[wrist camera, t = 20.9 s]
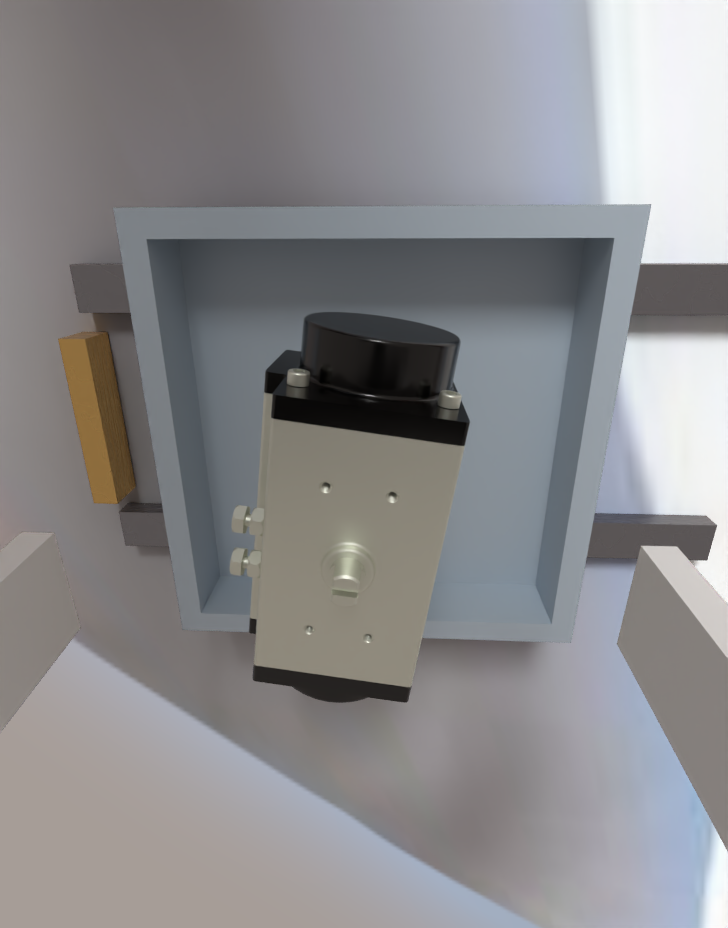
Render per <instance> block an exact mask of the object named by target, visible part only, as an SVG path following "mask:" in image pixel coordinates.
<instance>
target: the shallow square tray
mask: <svg viewBox="0 0 728 928" xmlns="http://www.w3.org/2000/svg"><path fill="white" fill-rule="evenodd" d="M113 209H114V215H115V221H116V228H117V234H118V240H119V246H120V252H121V258H122V264H123V270H124V276H125V282H126V288H127V294H128V301H129V307H130V313H131V319H132V325H133V331H134V337H135V343H136V349H137V355H138V361H139V368H140V374H141V380H142V386H143V392H144V398H145V404H146V410H147V416H148V422H149V428H150V434H151V441H152V447H153V453H154V459H155V465H156V471H157V477H158V483H159V489H160V495H161V501H162V507H163V514H164V520H165V526H166V532H167V538H168V544H169V550H170V556H171V562H172V568H173V574H174V580H175V587H176V593H177V599H178V605H179V611H180V617H181V623H182V629H183V630H197V631H227V632H249V621H250V605H251V589H252V577H248V576H247V568H245V571H244V574H243V575H241V576H239V575H233V574H231V573H230V560H231V556H232V552H233V550H234V548H235V547H239V548H247V549H248V555H247V556H249V555H250V553H251V551H252V550H254V542H255V535H251V534H250V533H249V527H247V531H246V533H244V534H243V533H236V532H232V528H231V524H232V517H233V512H234V509H235V507H236V506H237V505H242V506H248V507H250V514H252V511H253V509H254V508H257V495H258V479H259V463H260V447H261V432H262V416H263V400H264V384H265V370H266V369H267V368H268V367H269V366H270V365H271V364H272V363H273V362H274V361H275V360H276V359H277V358H278V357H279V356H280V355H281V354H282V353H283V352H284V351H285V350H294V351H301V344H302V333H303V322H304V318H305V317H306V316H307V315H309V314H312V313H318V312H349V313H361V314H371V315H379V316H386V317H392V318H398V319H404V320H409V321H414V322H418V323H423V324H427V325H431V326H434V327H438V328H441V329H444V330H446V331H449V332H451V333H453V334H455V335H457V336H458V337H459V338H460V341H461V345H460V350H459V355H458V359H457V364H456V369H455V374H454V379H453V382H454V384H455V386H456V389H457V391H458V393H460V394H461V395H462V398H461V401H462V403H463V406H464V408H465V410H466V413H467V415H468V418H469V420H470V425H469V430H468V434H467V439H466V443H465V448H464V452H463V457H462V461H461V466H460V470H459V475H458V479H457V484H456V488H455V493H454V497H453V502H452V506H451V511H450V515H449V520H448V524H447V529H446V533H445V538H444V542H443V547H442V551H441V556H440V560H439V565H438V569H437V574H436V578H435V583H434V587H433V592H432V596H431V600H430V605H429V609H428V614H427V618H426V623H425V627H424V632H423V636H422V638H438V639H468V640H498V641H528V642H558V643H571V640H572V635H573V630H574V624H575V619H576V613H577V608H578V602H579V597H580V591H581V586H582V580H583V575H584V569H585V564H586V558H587V553H588V548H589V542H590V537H591V531H592V526H593V520H594V515H595V509H596V504H597V498H598V493H599V487H600V482H601V476H602V471H603V466H604V460H605V455H606V449H607V444H608V438H609V433H610V427H611V422H612V416H613V411H614V405H615V400H616V394H617V389H618V384H619V378H620V373H621V367H622V362H623V356H624V351H625V345H626V340H627V334H628V329H629V323H630V318H631V312H632V307H633V302H634V296H635V291H636V285H637V280H638V274H639V269H640V263H641V258H642V252H643V247H644V241H645V236H646V230H647V225H648V220H649V214H650V209H651V204H642V205H472V206H302V207H132V208H113Z"/></svg>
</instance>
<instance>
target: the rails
mask: <svg viewBox="0 0 728 928" xmlns="http://www.w3.org/2000/svg"><path fill="white" fill-rule="evenodd" d="M70 269H71V274H72V279H73V284H74V289H75V294H76V299H77V304H78V309H79V313H130V307H129V301H128V294H127V288H126V282H125V276H124V270H123V264H74V265H70ZM631 315H728V263H658V264H640V269H639V274H638V280H637V285H636V291H635V296H634V302H633V307H632V312H631ZM58 340H59V345H60V350H61V354H62V359H63V363H64V368H65V372H66V377H67V382H68V386H69V391H70V395H71V400H72V405H73V409H74V414H75V418H76V423H77V427H78V432H79V437H80V441H81V446H82V450H83V455H84V459H85V464H86V469H87V473H88V478H89V482H90V487H91V491H92V496H93V501H94V503H107V504H118V503H119V502H120V501H121V500H122V499H123V498H124V497H125V496H126V495H127V494H129V493H130V492H131V491H132V490H133V489H134V488H135V487H136V485H135V479H134V474H133V468H132V463H131V457H130V452H129V447H128V441H127V436H126V430H125V425H124V419H123V414H122V408H121V403H120V397H119V392H118V386H117V381H116V375H115V370H114V364H113V359H112V353H111V348H110V343H109V337H108V332H81V333H77V334H74V335H70V336H67V337H64V338H60V339H58ZM119 514H120V519H121V524H122V529H123V534H124V539H125V544H126V546H165V547H169V544H168V538H167V532H166V526H165V520H164V514H163V507H162V504H136V503H128V504H127V505H126V506H125V507H124V508H123V509H122V510H121V511H120V512H119ZM716 527H717V525H716V524H715V523H714V522H712V521H711V520H710V519H709V518H708V517H707V516H690V515H644V514H597V513H595V515H594V520H593V526H592V531H591V537H590V542H589V548H588V553H587V557H595V558H634V559H638V556H639V552H640V548H641V546H676V547H678V548H679V549H680V551H681V552H682V553H683V554H684V555H685V556H686V557H687V558H688V560H707V559H708V555H709V552H710V548H711V545H712V541H713V538H714V534H715V531H716Z"/></svg>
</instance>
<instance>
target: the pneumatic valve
mask: <svg viewBox="0 0 728 928" xmlns="http://www.w3.org/2000/svg"><path fill="white" fill-rule="evenodd" d="M460 345H461V341H460V338H459V337H458V336H457V335H455V334H453V333H451V332H449V331H446V330H444V329H441V328H438V327H434V326H431V325H427V324H423V323H418V322H414V321H409V320H404V319H398V318H392V317H386V316H379V315H371V314H361V313H349V312H318V313H312V314H309V315H307V316H306V317H305V318H304V322H303V333H302V344H301V351H294V350H285V351H284V352H283V353H282V354H281V355H280V356H279V357H278V358H277V359H276V360H275V361H274V362H273V363H272V364H271V365H270V366H269V367H268V368H267V369H266V370H265V384H264V400H263V416H262V432H261V447H260V463H259V479H258V495H257V508H254V509H253V511H252V514H250V507H248V506H242V505H237V506H236V507H235V509H234V512H233V517H232V524H231V528H232V532H236V533H243V534H244V533H246V531H247V527H249V533H250V534H251V535H255V542H254V550H252V551H251V553H250V555H249V556H247V555H248V549H247V548H239V547H235V548H234V550H233V552H232V556H231V560H230V573H231V574H233V575H239V576H241V575H243V574H244V571H245V568H247V576H248V577H252V589H251V605H250V621H249V632H250V633H254V634H256V638H255V653H254V667H253V680H254V681H258V682H265V683H272V684H279V685H286V686H292V687H293V688H295V689H296V690H298V691H300V692H301V693H303V694H305V695H307V696H310V697H312V698H315V699H318V700H322V701H327V702H338V703H343V702H353V701H358V700H362V699H365V698H367V697H370V698H377V699H384V700H391V701H398V702H408V699H409V695H410V690H411V686H412V681H413V677H414V672H415V668H416V663H417V659H418V654H419V650H420V645H421V641H422V636H423V632H424V627H425V623H426V618H427V614H428V609H429V605H430V600H431V596H432V592H433V587H434V583H435V578H436V574H437V569H438V565H439V560H440V556H441V551H442V547H443V542H444V538H445V533H446V529H447V524H448V520H449V515H450V511H451V506H452V502H453V497H454V493H455V488H456V484H457V479H458V475H459V470H460V466H461V461H462V457H463V452H464V448H465V443H466V439H467V434H468V430H469V425H470V420H469V418H468V415H467V413H466V410H465V408H464V406H463V403H462V401H461V398H462V395H461V394H460V393H458V391H457V389H456V386H455V384H454V382H453V379H454V374H455V369H456V364H457V359H458V355H459V350H460Z"/></svg>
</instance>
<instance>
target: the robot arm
mask: <svg viewBox="0 0 728 928" xmlns="http://www.w3.org/2000/svg"><path fill="white" fill-rule="evenodd" d="M80 628H81V626H80V623H79V619H78V616H77V612H76V609H75V605H74V601H73V598H72V594H71V591H70V587H69V584H68V580H67V576H66V573H65V569H64V566H63V562H62V559H61V555H60V551H59V548H58V544H57V541H56V537H55V534H54V533H39V532H21V533H20V534H19V535H18V536H17V537H15V538H14V539H13V540H12V541H11V542H9V543H8V544H7V545H6V546H5V547H3V548H2V549H1V550H0V733H1V731H2V730H3V729H4V727H5V726H6V725H7V724H8V722H9V721H10V719H11V718H12V717H13V716H14V714H15V713H16V712H17V710H18V709H19V708H20V707H21V705H22V704H23V702H24V701H25V700H26V699H27V697H28V696H29V695H30V693H31V692H32V691H33V690H34V688H35V687H36V686H37V684H38V683H39V682H40V680H41V679H42V678H43V677H44V675H45V674H46V673H47V671H48V670H49V669H50V667H51V666H52V665H53V663H54V662H55V661H56V660H57V658H58V657H59V656H60V654H61V653H62V652H63V650H64V649H65V648H66V646H67V645H68V644H69V643H70V641H71V640H72V639H73V637H74V636H75V635H76V633H77V632H78V631H79V629H80ZM617 645H618V647H619V649H620V650H621V652H622V654H623V656H624V658H625V660H626V662H627V664H628V665H629V667H630V669H631V671H632V673H633V675H634V677H635V679H636V680H637V682H638V684H639V686H640V688H641V690H642V692H643V694H644V695H645V697H646V699H647V701H648V703H649V705H650V707H651V708H652V710H653V712H654V714H655V716H656V718H657V720H658V722H659V723H660V725H661V727H662V729H663V731H664V733H665V735H666V737H667V738H668V740H669V742H670V744H671V746H672V748H673V750H674V752H675V753H676V755H677V757H678V759H679V761H680V763H681V765H682V767H683V768H684V770H685V772H686V774H687V776H688V778H689V780H690V782H691V783H692V785H693V787H694V789H695V791H696V793H697V795H698V797H699V798H700V800H701V802H702V804H703V806H704V808H705V810H706V812H707V813H708V815H709V817H710V819H711V821H712V823H713V825H714V827H715V828H716V830H717V832H718V834H719V836H720V838H721V840H722V842H723V843H724V845H725V847H726V849H727V851H728V604H727V603H726V602H725V601H724V599H723V598H722V597H721V596H720V595H719V594H718V593H717V592H716V590H715V589H714V588H713V587H712V586H711V585H710V584H709V582H708V581H707V580H706V579H705V578H704V577H703V576H702V574H701V573H700V572H699V571H698V570H697V569H696V568H695V566H694V565H693V564H692V563H691V562H690V561H689V560H688V558H687V557H686V556H685V555H684V554H683V553H682V552H681V551H680V549H679V548H678V547H676V546H641V548H640V552H639V556H638V560H637V564H636V568H635V572H634V576H633V580H632V584H631V588H630V593H629V597H628V601H627V605H626V609H625V613H624V617H623V621H622V625H621V629H620V633H619V637H618V642H617Z"/></svg>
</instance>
